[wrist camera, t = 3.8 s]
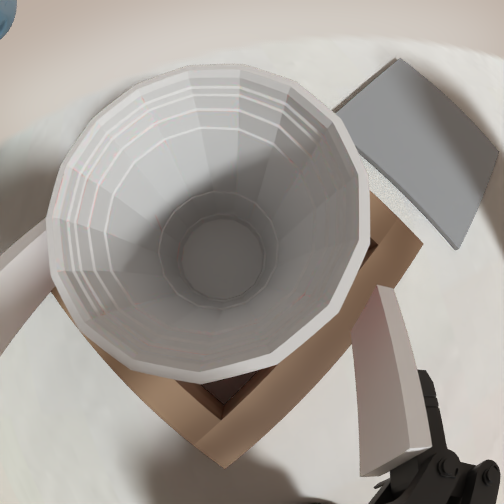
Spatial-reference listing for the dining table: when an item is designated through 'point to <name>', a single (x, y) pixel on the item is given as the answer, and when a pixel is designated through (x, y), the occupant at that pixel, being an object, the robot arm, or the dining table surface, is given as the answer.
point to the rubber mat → (422, 147)
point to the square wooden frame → (278, 376)
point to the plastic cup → (208, 222)
